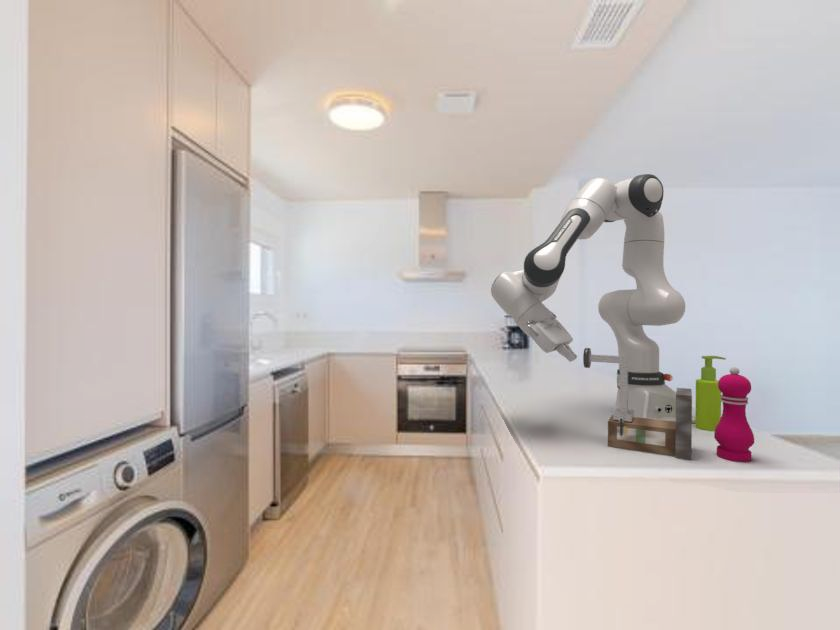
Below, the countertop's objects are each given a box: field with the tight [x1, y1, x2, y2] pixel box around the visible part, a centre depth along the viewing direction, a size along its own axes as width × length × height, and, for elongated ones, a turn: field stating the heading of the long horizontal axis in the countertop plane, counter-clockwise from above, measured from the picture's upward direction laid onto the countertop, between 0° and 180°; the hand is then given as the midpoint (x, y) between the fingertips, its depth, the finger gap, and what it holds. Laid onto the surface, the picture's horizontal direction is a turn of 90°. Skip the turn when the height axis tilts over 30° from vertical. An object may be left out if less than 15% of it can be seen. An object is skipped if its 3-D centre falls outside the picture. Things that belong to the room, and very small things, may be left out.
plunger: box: [582, 347, 634, 436], centre depth 107 cm, size 11×8×20 cm
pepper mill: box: [714, 366, 755, 463], centre depth 97 cm, size 7×7×20 cm
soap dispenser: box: [694, 355, 727, 432], centre depth 121 cm, size 6×7×20 cm
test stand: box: [607, 387, 693, 461], centre depth 103 cm, size 17×10×14 cm, turn 59°
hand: (574, 359), depth 112 cm, fingers closed
